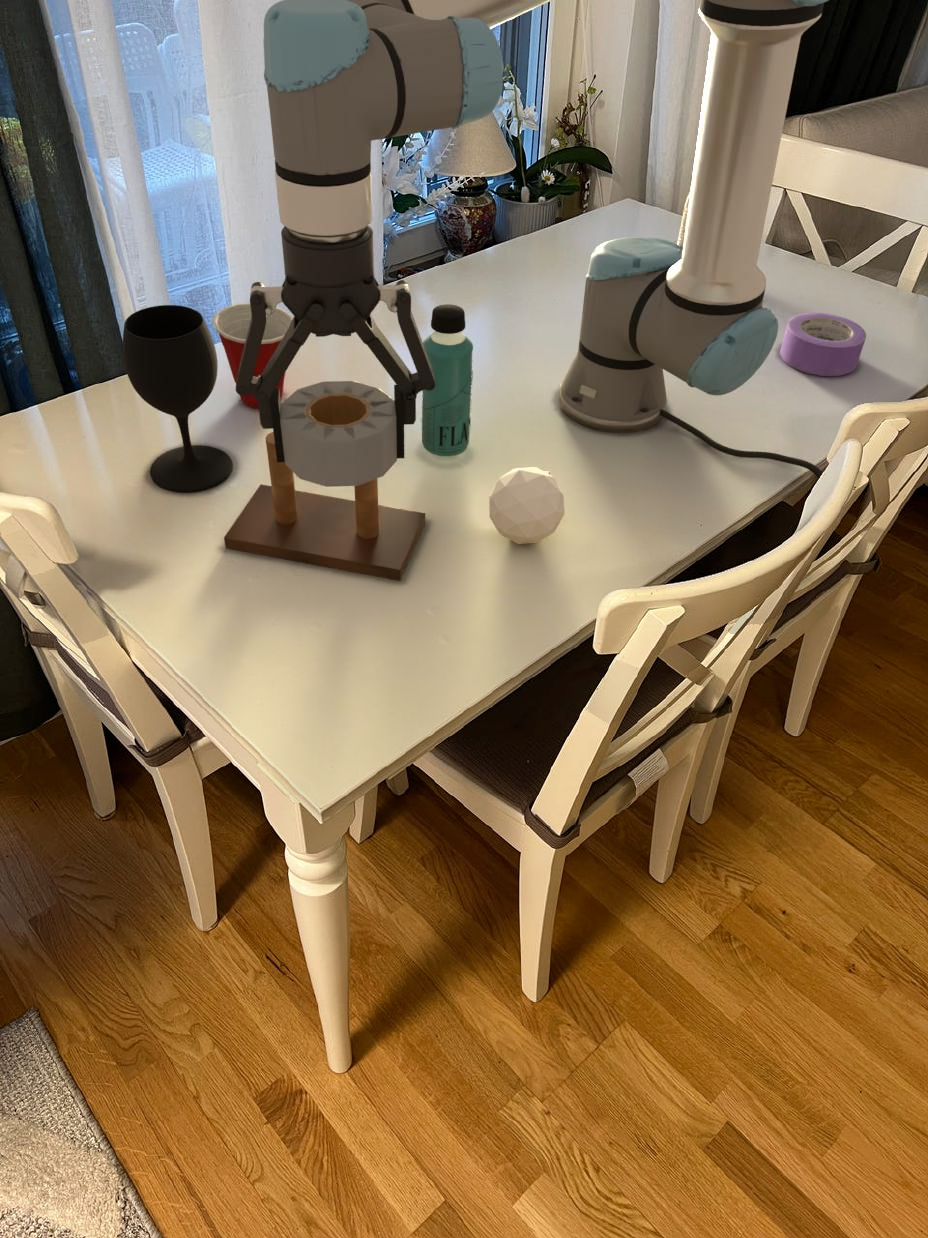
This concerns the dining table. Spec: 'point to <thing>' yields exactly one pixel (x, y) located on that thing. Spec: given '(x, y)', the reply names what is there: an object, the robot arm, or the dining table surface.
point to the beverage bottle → (448, 384)
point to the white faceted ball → (526, 505)
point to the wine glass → (176, 389)
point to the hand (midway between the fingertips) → (340, 452)
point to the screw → (683, 223)
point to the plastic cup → (233, 336)
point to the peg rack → (325, 526)
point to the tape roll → (822, 344)
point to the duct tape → (339, 433)
